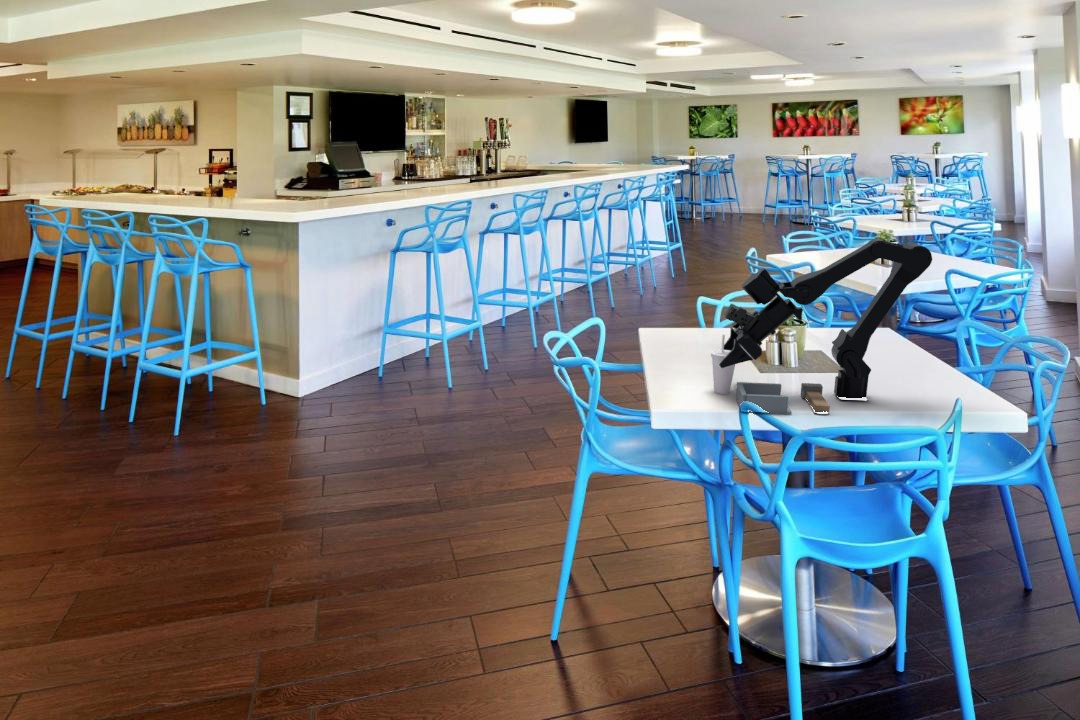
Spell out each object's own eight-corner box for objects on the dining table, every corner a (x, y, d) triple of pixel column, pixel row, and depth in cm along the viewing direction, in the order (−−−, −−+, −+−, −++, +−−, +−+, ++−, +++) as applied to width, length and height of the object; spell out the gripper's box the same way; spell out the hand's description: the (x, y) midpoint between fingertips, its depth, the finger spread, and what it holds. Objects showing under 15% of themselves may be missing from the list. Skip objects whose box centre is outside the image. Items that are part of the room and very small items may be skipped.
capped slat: (800, 395, 203) (801, 383, 202) (819, 396, 202) (820, 383, 201) (811, 414, 189) (813, 400, 189) (832, 415, 189) (833, 401, 188)
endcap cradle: (783, 400, 199) (785, 383, 198) (791, 414, 189) (792, 397, 188) (736, 398, 200) (737, 382, 199) (741, 412, 190) (742, 395, 189)
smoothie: (716, 386, 210) (719, 331, 206) (740, 391, 206) (744, 334, 203) (703, 392, 205) (707, 335, 202) (728, 397, 201) (731, 339, 198)
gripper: (743, 286, 208) (695, 328, 212) (750, 301, 190) (697, 346, 194) (774, 319, 209) (725, 360, 213) (784, 336, 191) (730, 381, 195)
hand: (719, 361), depth 204 cm, fingers open, 9 cm apart
